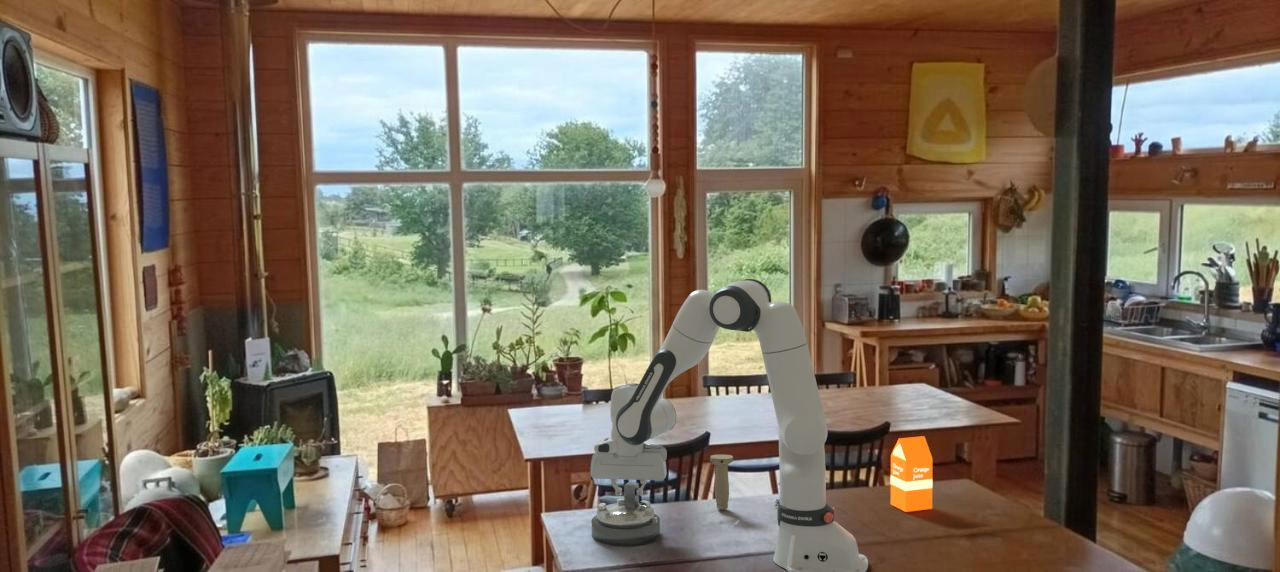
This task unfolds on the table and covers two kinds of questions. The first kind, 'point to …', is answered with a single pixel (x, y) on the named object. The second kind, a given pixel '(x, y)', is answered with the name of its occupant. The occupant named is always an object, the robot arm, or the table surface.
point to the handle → (721, 479)
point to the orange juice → (911, 475)
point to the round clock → (626, 510)
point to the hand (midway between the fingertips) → (629, 495)
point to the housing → (626, 533)
